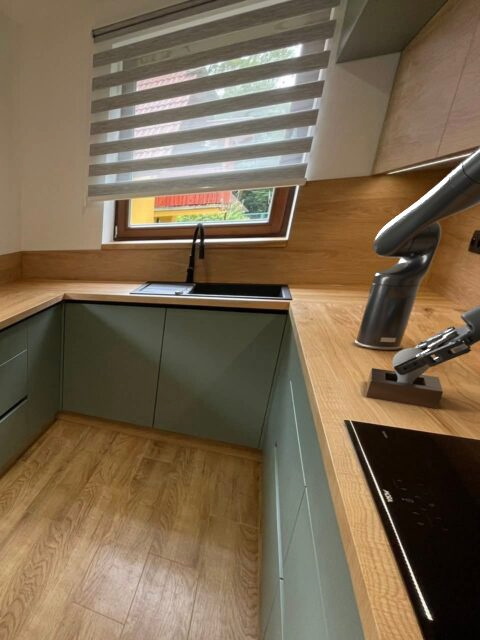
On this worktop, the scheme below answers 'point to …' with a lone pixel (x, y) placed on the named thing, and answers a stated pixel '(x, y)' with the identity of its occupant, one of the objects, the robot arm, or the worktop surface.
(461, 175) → the robot arm
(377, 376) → the socket block
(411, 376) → the light bulb
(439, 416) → the worktop surface
